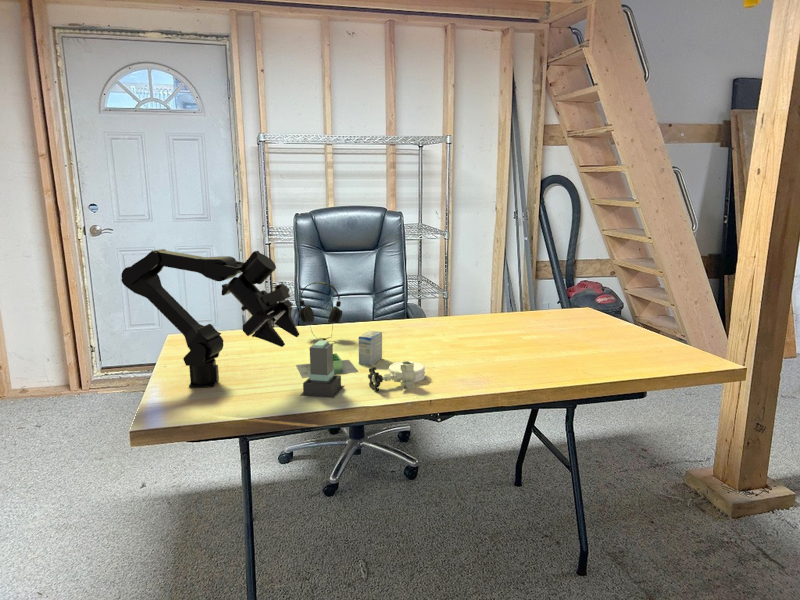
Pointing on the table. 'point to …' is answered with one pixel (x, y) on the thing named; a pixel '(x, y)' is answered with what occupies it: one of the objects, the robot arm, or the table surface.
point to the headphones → (308, 314)
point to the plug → (321, 362)
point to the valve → (394, 376)
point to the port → (338, 367)
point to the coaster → (417, 368)
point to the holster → (322, 388)
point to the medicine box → (370, 347)
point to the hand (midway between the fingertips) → (291, 340)
